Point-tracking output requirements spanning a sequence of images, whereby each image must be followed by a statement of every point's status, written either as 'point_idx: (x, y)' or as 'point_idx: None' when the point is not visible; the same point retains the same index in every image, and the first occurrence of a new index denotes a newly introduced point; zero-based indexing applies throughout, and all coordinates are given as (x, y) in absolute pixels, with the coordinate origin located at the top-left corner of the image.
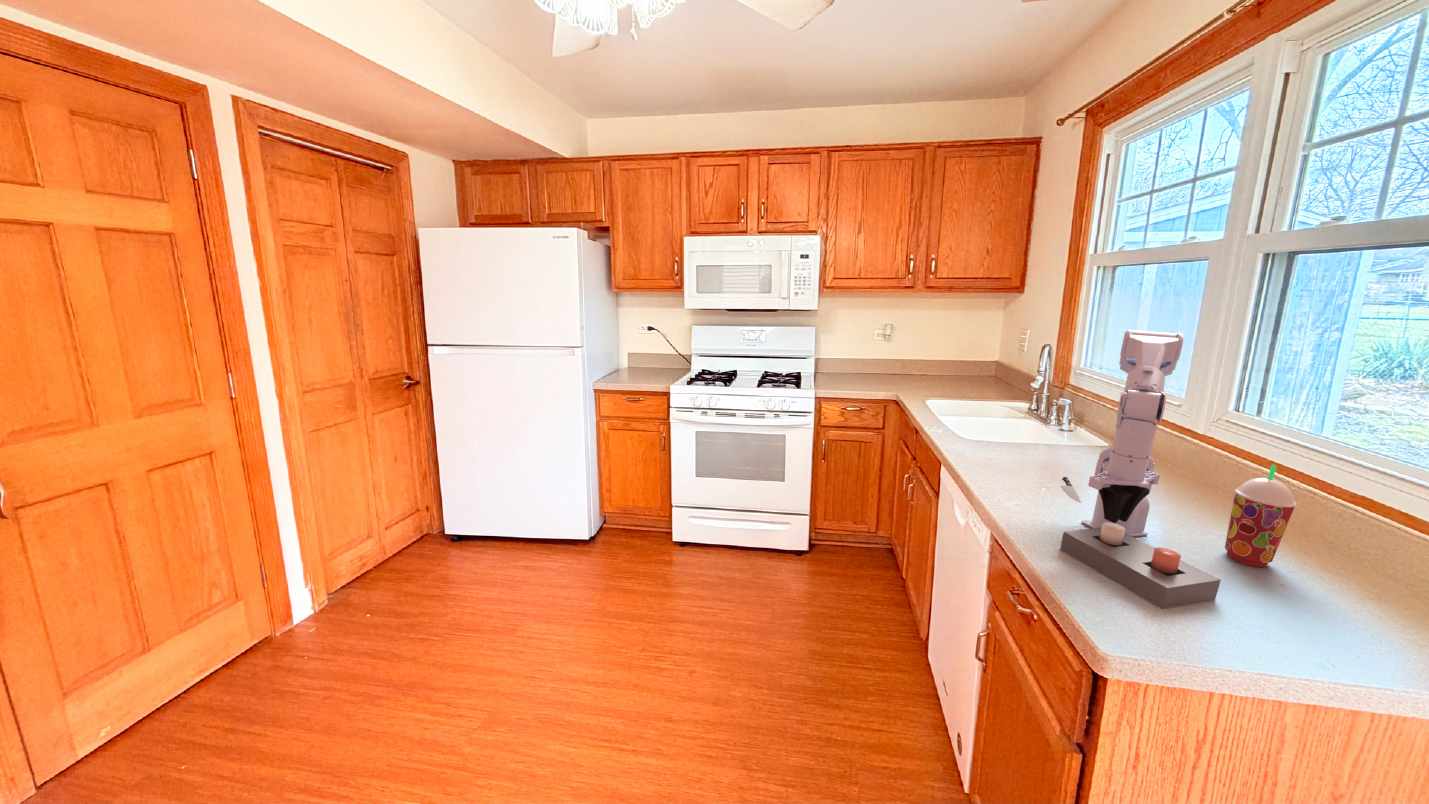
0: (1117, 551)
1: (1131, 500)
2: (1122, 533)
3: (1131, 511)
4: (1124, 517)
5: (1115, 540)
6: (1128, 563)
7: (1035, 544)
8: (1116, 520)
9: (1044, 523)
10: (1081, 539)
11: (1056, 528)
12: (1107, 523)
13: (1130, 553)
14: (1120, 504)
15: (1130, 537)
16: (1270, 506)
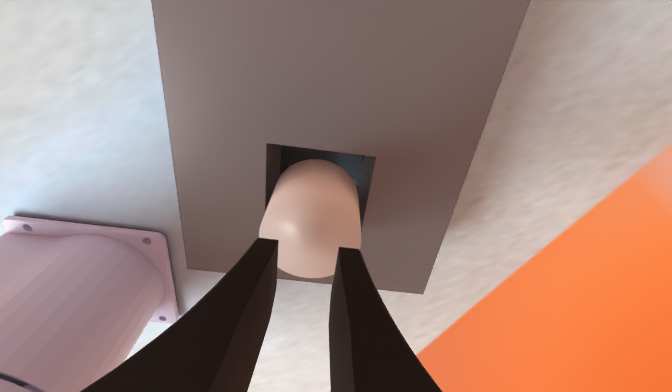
0: (396, 124)
1: (221, 388)
2: (313, 188)
3: (234, 284)
4: (273, 262)
5: (343, 178)
6: (489, 16)
7: (447, 283)
8: (353, 256)
9: (293, 340)
10: (429, 240)
11: (286, 317)
12: (305, 269)
13: (354, 88)
14: (410, 371)
15: (194, 187)
16: None
